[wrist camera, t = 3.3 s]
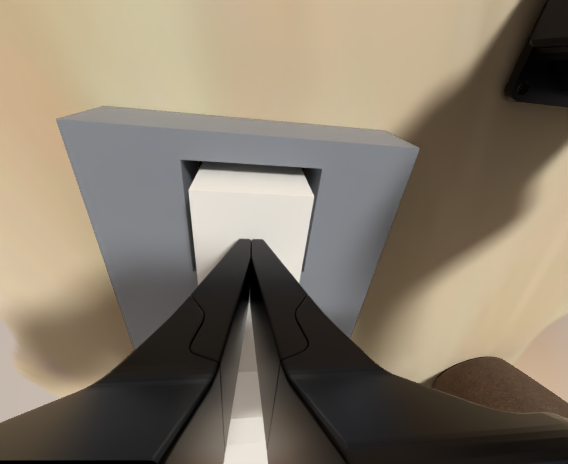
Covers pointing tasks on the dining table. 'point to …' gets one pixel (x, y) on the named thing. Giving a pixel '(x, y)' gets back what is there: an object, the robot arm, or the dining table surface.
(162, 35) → the dining table surface
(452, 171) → the dining table surface
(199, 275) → the button
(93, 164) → the button board
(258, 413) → the button middle
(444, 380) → the plant pot
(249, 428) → the button
